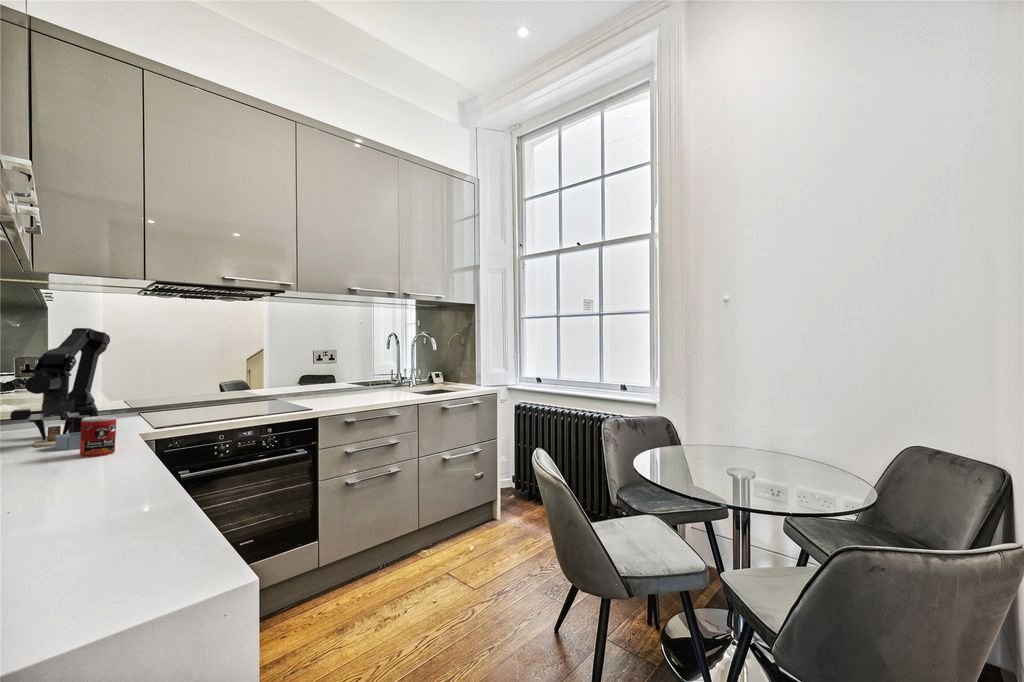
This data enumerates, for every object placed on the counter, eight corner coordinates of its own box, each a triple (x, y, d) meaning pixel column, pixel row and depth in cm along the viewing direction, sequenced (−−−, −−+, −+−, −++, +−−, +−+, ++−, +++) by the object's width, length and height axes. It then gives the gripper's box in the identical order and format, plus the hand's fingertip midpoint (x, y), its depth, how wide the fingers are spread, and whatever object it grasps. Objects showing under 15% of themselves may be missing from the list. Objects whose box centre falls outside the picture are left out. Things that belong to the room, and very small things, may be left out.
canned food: (82, 458, 123) (84, 420, 124) (77, 454, 128) (78, 417, 129) (117, 454, 130) (119, 417, 130) (111, 450, 134) (113, 414, 135)
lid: (34, 443, 139) (35, 426, 140) (72, 439, 146) (73, 423, 146) (33, 447, 133) (33, 429, 134) (72, 443, 140) (73, 426, 140)
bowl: (55, 448, 135) (56, 434, 135) (95, 444, 142) (95, 430, 142) (54, 453, 129) (55, 438, 129) (96, 449, 136) (96, 434, 136)
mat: (35, 444, 140) (36, 442, 140) (71, 441, 146) (71, 439, 146) (34, 449, 133) (34, 447, 133) (71, 446, 139) (71, 444, 139)
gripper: (9, 394, 128) (7, 447, 127) (96, 391, 141) (94, 439, 141) (13, 391, 135) (10, 441, 135) (95, 389, 149) (93, 434, 148)
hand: (53, 439), depth 140 cm, fingers open, 4 cm apart
